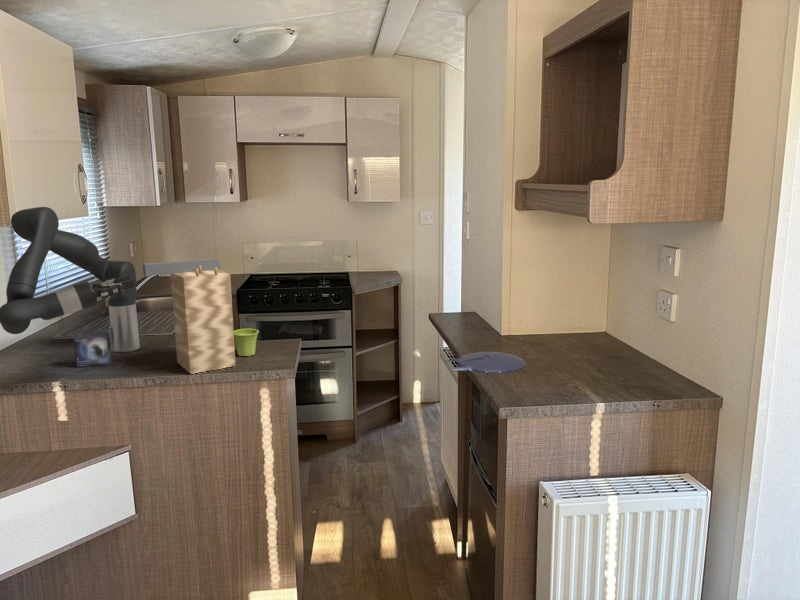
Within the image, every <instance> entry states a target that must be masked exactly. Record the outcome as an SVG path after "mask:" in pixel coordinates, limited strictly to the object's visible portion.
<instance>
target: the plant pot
mask: <svg viewBox="0 0 800 600" xmlns="http://www.w3.org/2000/svg"><path fill="white" fill-rule="evenodd" d="M258 334H259V330H258V329H255V328H239V329H236V330H234V344H235V348H236V353H237V356H238V355H239V356H238V357H240V356H247V357H252V356H251V355H253V356H255V355H256V350H257V349H256V347H257V346H256V345H257V337H258ZM254 354H255V355H254Z"/></svg>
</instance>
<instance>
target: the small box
mask: <svg viewBox="0 0 800 600" xmlns="http://www.w3.org/2000/svg"><path fill="white" fill-rule="evenodd" d="M72 340H73V347H74V357H75V358H74V359H75V366H76V367H75V368H89V367H105V366H111V363H112V362H113V356H112V355H113V354H112V351H111V340H110V331H108V332H92V333H77V334H76V335H75V336H74V337H73V339H72Z"/></svg>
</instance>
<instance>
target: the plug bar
mask: <svg viewBox="0 0 800 600" xmlns="http://www.w3.org/2000/svg"><path fill="white" fill-rule="evenodd" d="M199 265H201V266H202V271H210V270H214V267H217V270H221V268H220V259H218V258H207V259H206V258H205V259H191V260H177V261H176V260H175V261H164V262H150V263H148V262H147V263H142V272H143V276H145V277H146V276H148V277H149V276H160V275H171V274H174V273H186V272H196V268H198V269H199Z"/></svg>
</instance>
